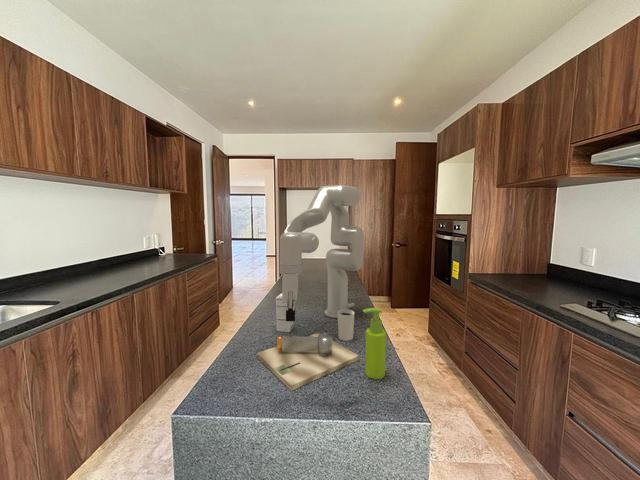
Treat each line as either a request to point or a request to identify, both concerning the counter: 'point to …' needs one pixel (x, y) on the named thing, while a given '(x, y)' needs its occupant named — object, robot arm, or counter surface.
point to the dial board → (305, 363)
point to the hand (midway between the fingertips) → (290, 320)
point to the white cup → (345, 324)
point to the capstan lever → (306, 344)
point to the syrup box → (282, 316)
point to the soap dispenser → (375, 346)
